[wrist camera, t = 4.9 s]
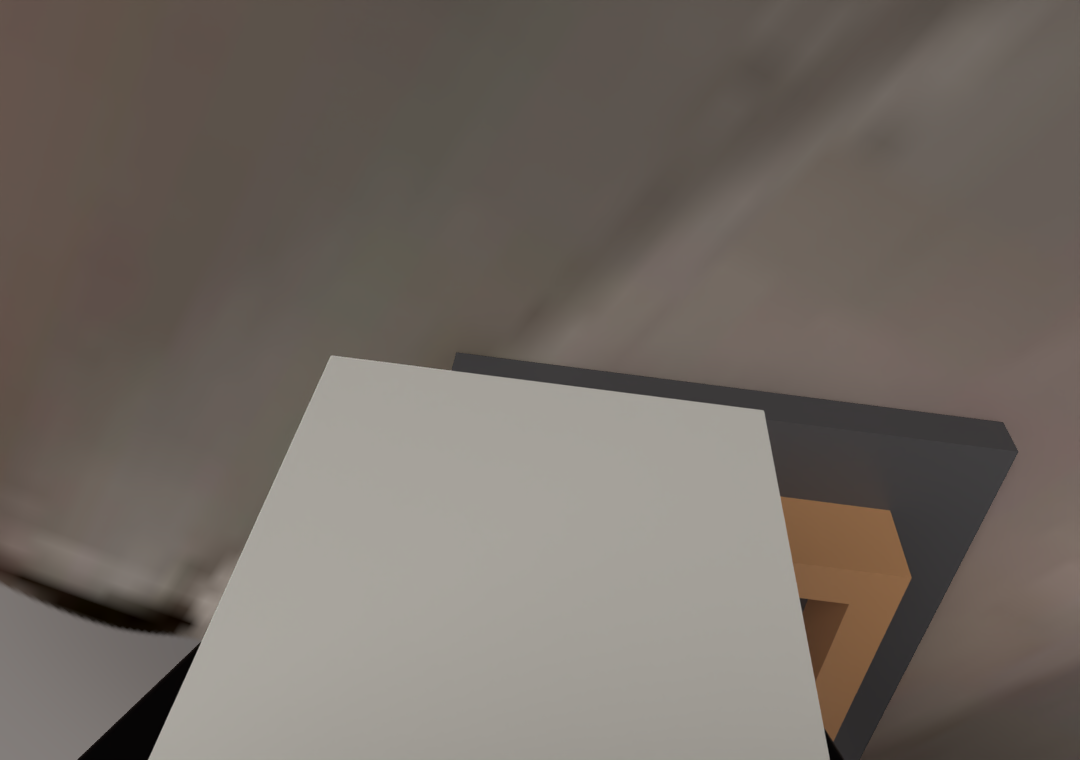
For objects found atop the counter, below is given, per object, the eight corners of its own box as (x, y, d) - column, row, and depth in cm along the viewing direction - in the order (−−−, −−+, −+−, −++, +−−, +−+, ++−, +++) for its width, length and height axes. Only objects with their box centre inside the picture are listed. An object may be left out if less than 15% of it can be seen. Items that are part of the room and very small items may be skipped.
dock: (844, 744, 28) (865, 844, 25) (435, 691, 28) (416, 787, 25) (1003, 422, 21) (1052, 518, 18) (456, 352, 21) (433, 439, 18)
